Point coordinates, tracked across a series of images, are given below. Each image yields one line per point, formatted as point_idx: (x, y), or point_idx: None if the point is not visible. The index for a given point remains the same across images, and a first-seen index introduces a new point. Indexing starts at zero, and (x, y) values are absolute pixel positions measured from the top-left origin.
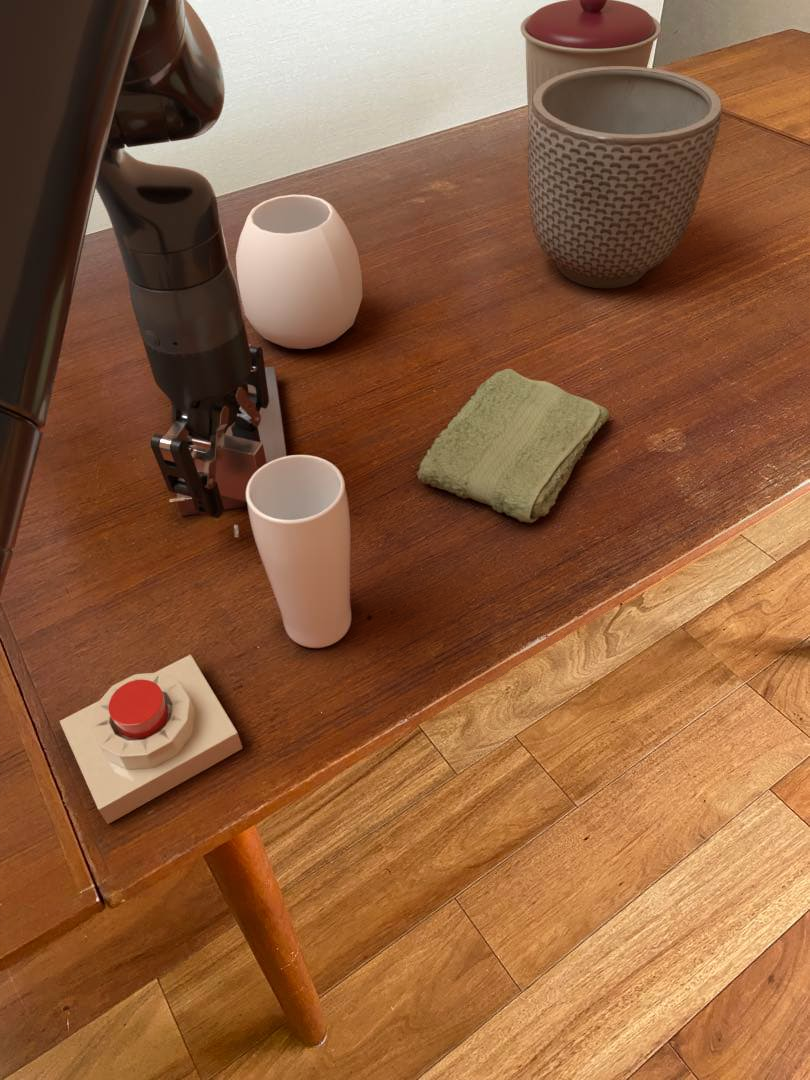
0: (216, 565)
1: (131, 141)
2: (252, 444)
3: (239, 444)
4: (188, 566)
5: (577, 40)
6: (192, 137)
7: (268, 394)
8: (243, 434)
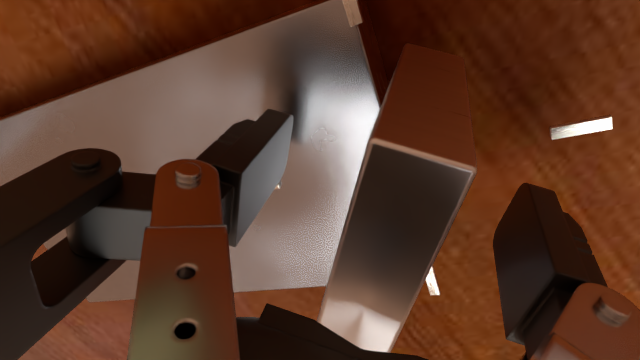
0: (624, 150)
1: None
2: (390, 188)
3: (391, 243)
4: (611, 213)
5: None
6: None
7: (40, 132)
8: (247, 199)
